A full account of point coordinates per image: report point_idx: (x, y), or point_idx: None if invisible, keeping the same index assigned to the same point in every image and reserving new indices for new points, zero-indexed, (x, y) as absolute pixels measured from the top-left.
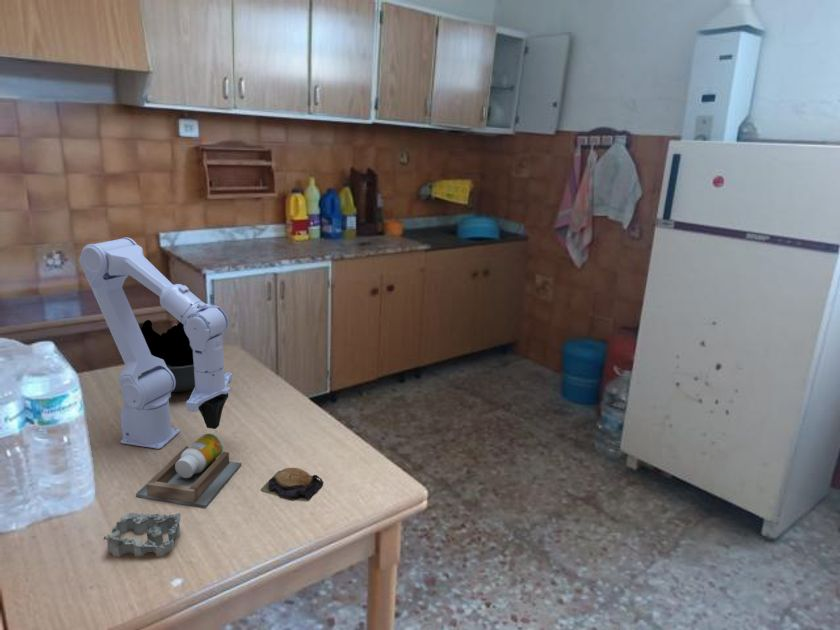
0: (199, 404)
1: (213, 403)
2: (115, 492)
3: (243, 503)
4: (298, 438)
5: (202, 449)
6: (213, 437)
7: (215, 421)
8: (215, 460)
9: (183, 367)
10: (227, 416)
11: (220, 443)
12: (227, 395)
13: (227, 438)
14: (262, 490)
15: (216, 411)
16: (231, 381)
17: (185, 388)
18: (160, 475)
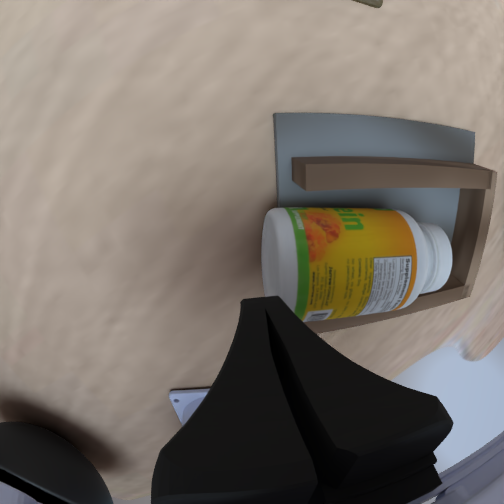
0: (495, 449)
1: (435, 440)
2: (425, 339)
3: (436, 43)
4: (36, 40)
5: (401, 254)
6: (308, 269)
7: (302, 323)
8: (370, 187)
9: (58, 495)
10: (41, 331)
11: (294, 224)
12: (207, 482)
13: (125, 267)
14: (381, 2)
15: (362, 371)
16: (3, 490)
17: (59, 443)
18: (446, 293)
